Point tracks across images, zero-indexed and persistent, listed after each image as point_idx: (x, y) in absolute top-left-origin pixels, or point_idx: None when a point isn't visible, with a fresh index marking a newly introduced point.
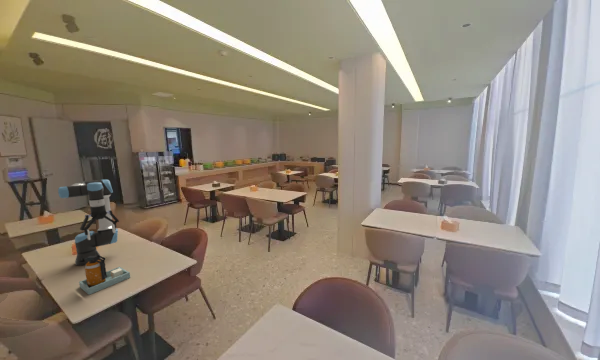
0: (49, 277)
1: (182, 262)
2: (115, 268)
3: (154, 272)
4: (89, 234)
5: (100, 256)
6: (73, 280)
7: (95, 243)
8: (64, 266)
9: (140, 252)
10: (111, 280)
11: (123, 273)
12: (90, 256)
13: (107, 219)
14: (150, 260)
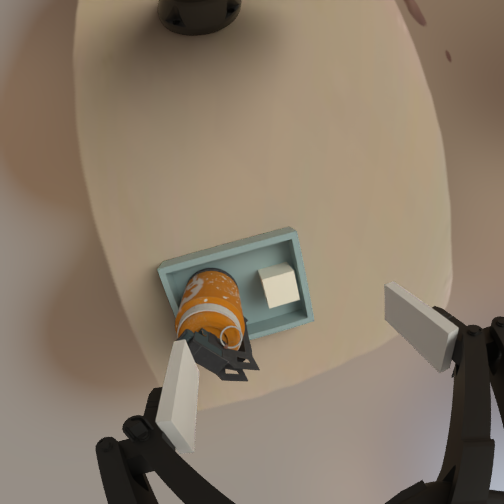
0: (85, 76)
1: (433, 301)
2: (281, 238)
3: (368, 316)
4: (194, 411)
5: (241, 367)
6: (140, 163)
7: None
8: (131, 8)
9: (374, 75)
10: (255, 336)
11: (297, 278)
12: (196, 350)
13: (460, 411)
14: (390, 197)
